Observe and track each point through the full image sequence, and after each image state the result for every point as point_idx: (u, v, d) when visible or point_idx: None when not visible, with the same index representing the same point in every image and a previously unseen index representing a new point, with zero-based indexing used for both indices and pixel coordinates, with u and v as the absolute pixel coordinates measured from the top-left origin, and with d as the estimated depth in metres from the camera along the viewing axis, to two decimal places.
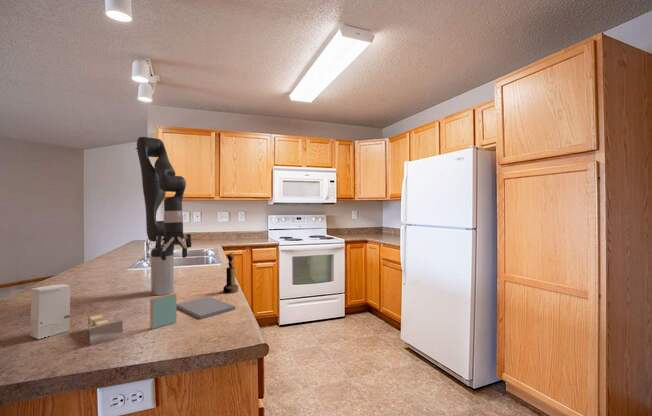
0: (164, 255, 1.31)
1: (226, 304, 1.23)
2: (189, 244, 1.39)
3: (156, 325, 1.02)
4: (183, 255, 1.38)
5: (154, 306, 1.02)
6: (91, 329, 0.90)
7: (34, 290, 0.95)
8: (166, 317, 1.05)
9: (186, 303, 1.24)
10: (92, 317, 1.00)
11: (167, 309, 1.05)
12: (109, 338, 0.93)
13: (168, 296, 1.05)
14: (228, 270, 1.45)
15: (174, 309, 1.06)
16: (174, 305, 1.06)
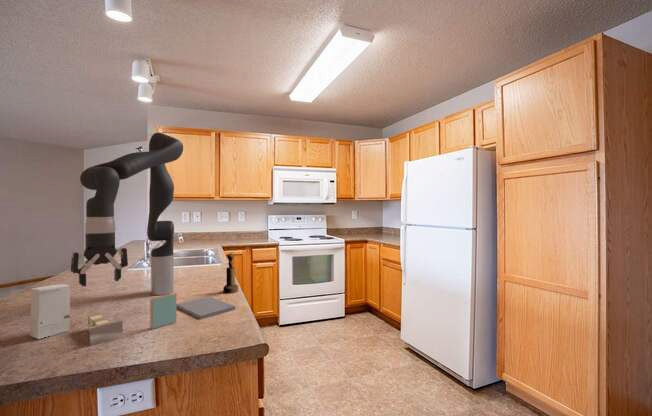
0: (83, 279, 0.93)
1: (226, 304, 1.23)
2: (124, 262, 1.01)
3: (156, 325, 1.02)
4: (115, 278, 1.00)
5: (154, 306, 1.02)
6: (91, 329, 0.90)
7: (34, 290, 0.95)
8: (166, 317, 1.05)
9: (186, 303, 1.24)
10: (92, 317, 1.00)
11: (167, 309, 1.05)
12: (109, 338, 0.93)
13: (168, 296, 1.05)
14: (228, 270, 1.45)
15: (174, 309, 1.06)
16: (174, 305, 1.06)
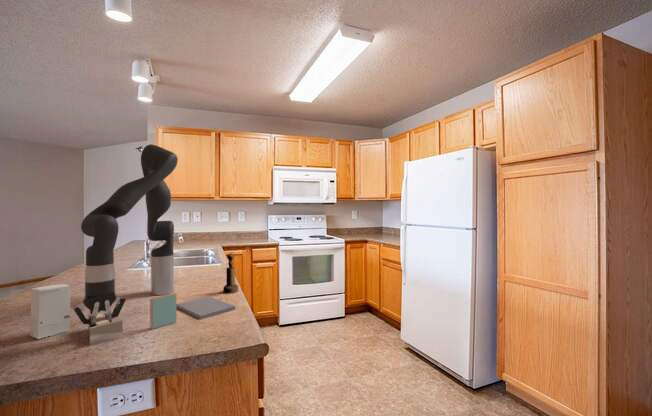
0: None
1: (226, 304, 1.23)
2: (115, 313, 0.99)
3: (156, 325, 1.02)
4: None
5: (154, 306, 1.02)
6: (91, 329, 0.90)
7: (34, 290, 0.95)
8: (166, 317, 1.05)
9: (186, 303, 1.24)
10: None
11: (167, 309, 1.05)
12: (109, 338, 0.93)
13: (168, 296, 1.05)
14: (228, 270, 1.45)
15: (174, 309, 1.06)
16: (174, 305, 1.06)
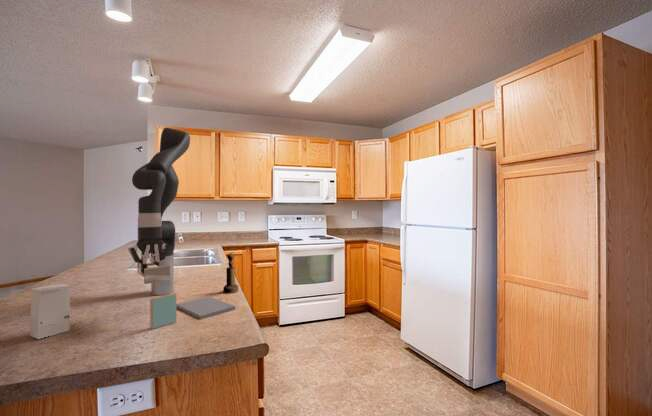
0: (145, 268, 1.10)
1: (226, 304, 1.23)
2: (162, 256, 1.15)
3: (156, 325, 1.02)
4: None
5: (154, 306, 1.02)
6: (146, 270, 1.05)
7: (34, 290, 0.95)
8: (166, 317, 1.05)
9: (186, 303, 1.24)
10: None
11: (167, 309, 1.05)
12: (159, 279, 1.09)
13: (168, 296, 1.05)
14: (228, 270, 1.45)
15: (174, 309, 1.06)
16: (174, 305, 1.06)
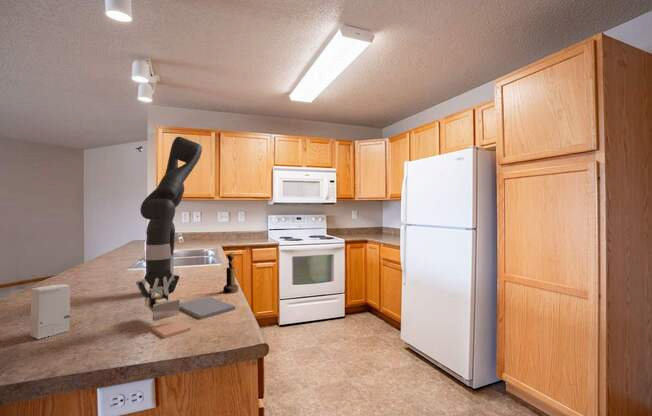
0: (153, 303, 1.05)
1: (226, 304, 1.23)
2: (171, 289, 1.09)
3: None
4: None
5: None
6: (155, 306, 1.00)
7: (34, 290, 0.95)
8: None
9: (186, 303, 1.24)
10: None
11: None
12: (168, 315, 1.03)
13: None
14: (228, 270, 1.45)
15: None
16: None
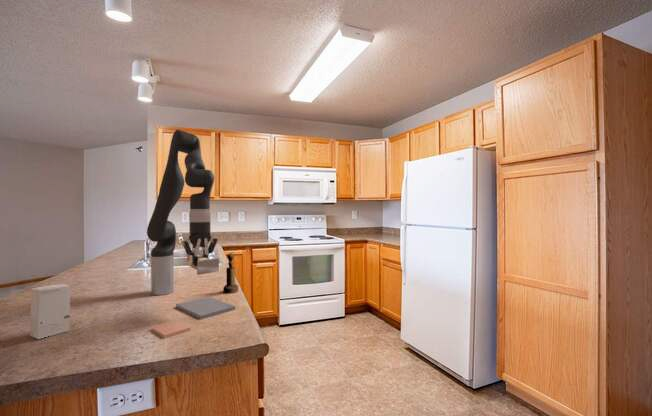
0: (196, 260, 1.19)
1: (226, 304, 1.23)
2: (210, 249, 1.23)
3: None
4: None
5: None
6: (199, 262, 1.13)
7: (34, 290, 0.95)
8: None
9: (186, 303, 1.24)
10: None
11: None
12: (210, 271, 1.17)
13: None
14: (228, 270, 1.45)
15: None
16: None
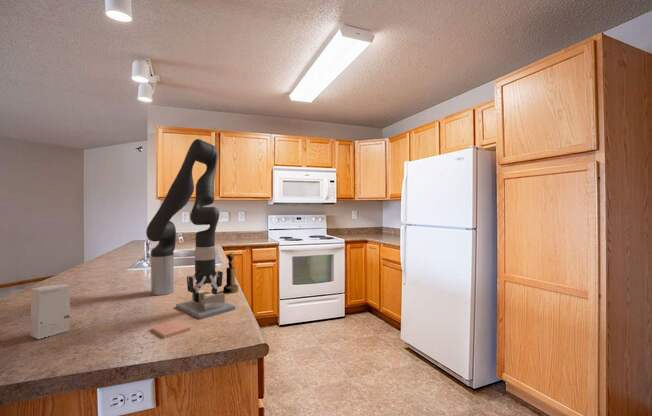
0: (197, 297, 1.19)
1: (226, 304, 1.23)
2: (219, 283, 1.26)
3: None
4: None
5: None
6: (205, 298, 1.15)
7: (34, 290, 0.95)
8: None
9: (186, 303, 1.24)
10: None
11: None
12: (216, 306, 1.18)
13: None
14: (228, 270, 1.45)
15: None
16: None
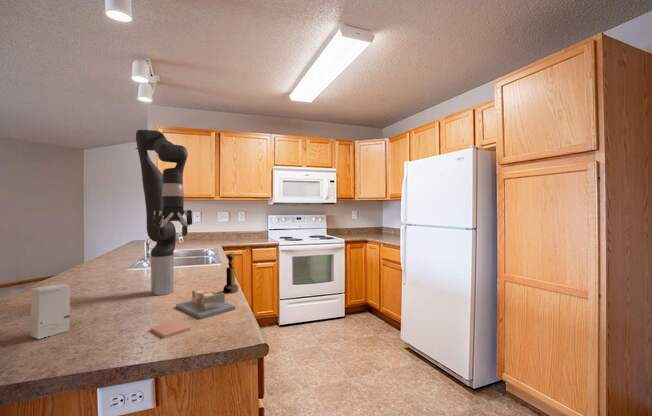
0: (162, 232, 1.18)
1: (226, 304, 1.23)
2: (190, 221, 1.26)
3: None
4: (183, 233, 1.25)
5: None
6: (205, 298, 1.15)
7: (34, 290, 0.95)
8: None
9: (186, 303, 1.24)
10: (197, 291, 1.25)
11: None
12: (216, 306, 1.18)
13: None
14: (228, 270, 1.45)
15: None
16: None
